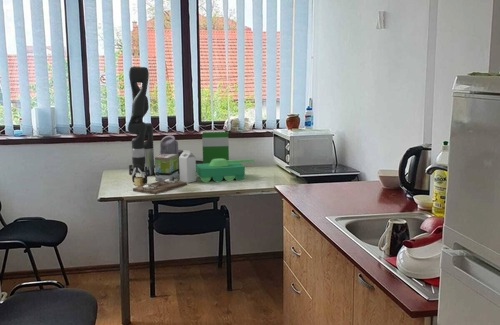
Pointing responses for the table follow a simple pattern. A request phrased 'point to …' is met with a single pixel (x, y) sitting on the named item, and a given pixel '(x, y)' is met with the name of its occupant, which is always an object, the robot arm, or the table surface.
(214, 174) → the toy tank
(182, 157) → the milk carton
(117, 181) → the table surface
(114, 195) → the table surface
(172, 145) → the grey watering can
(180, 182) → the gear board
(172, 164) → the tea box
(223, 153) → the hardback book
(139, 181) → the brass ring gear
